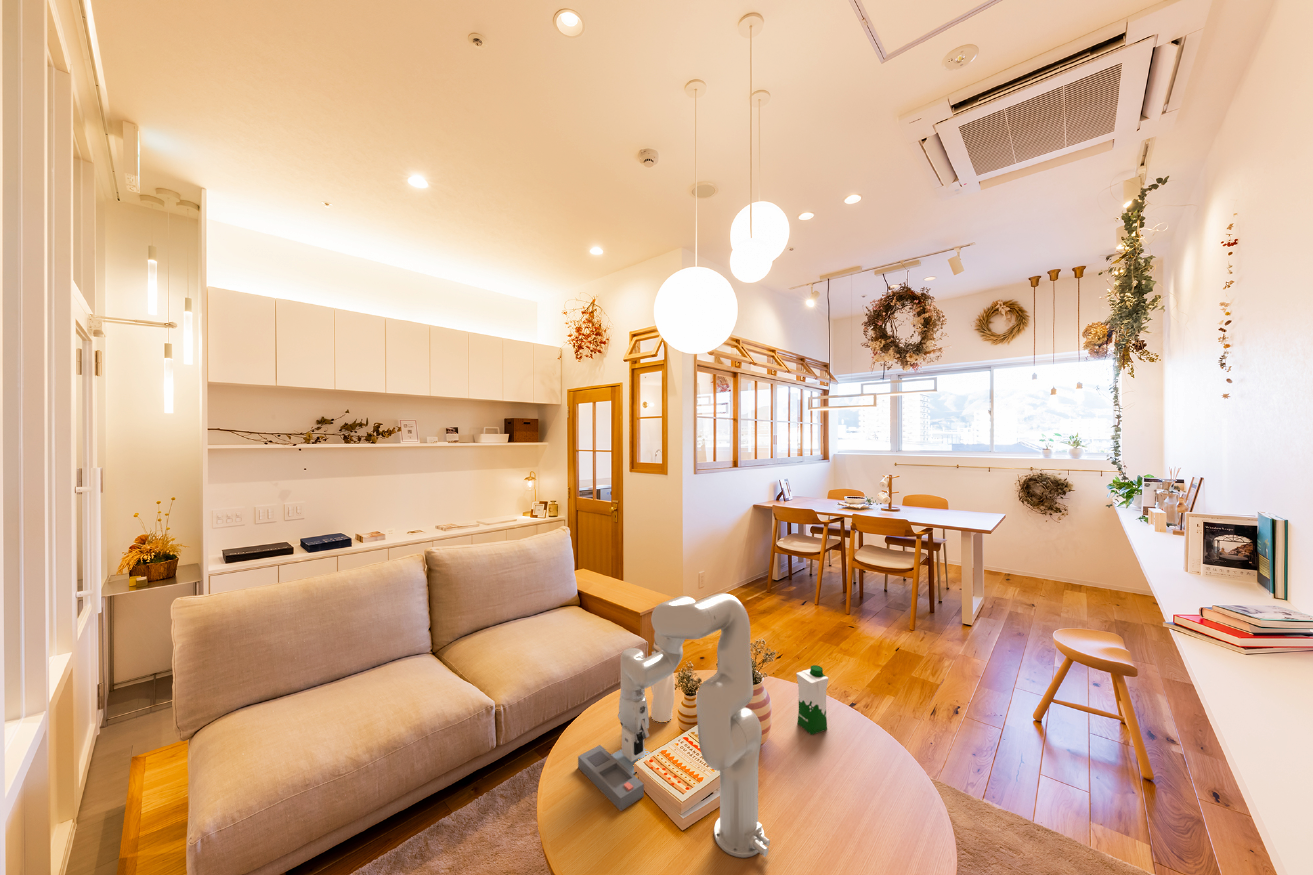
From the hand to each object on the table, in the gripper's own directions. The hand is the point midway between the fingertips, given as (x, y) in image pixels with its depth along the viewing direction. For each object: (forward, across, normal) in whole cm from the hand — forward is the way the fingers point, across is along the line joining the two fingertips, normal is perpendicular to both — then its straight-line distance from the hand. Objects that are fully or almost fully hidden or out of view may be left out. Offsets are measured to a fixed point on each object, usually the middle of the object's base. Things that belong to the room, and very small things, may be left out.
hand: (633, 747), depth 147 cm
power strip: (+4, -3, +11) cm, 12 cm away
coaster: (+3, 0, 0) cm, 3 cm away
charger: (+2, 0, 0) cm, 2 cm away
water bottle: (+4, +10, -21) cm, 24 cm away
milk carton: (+4, -28, -57) cm, 64 cm away
